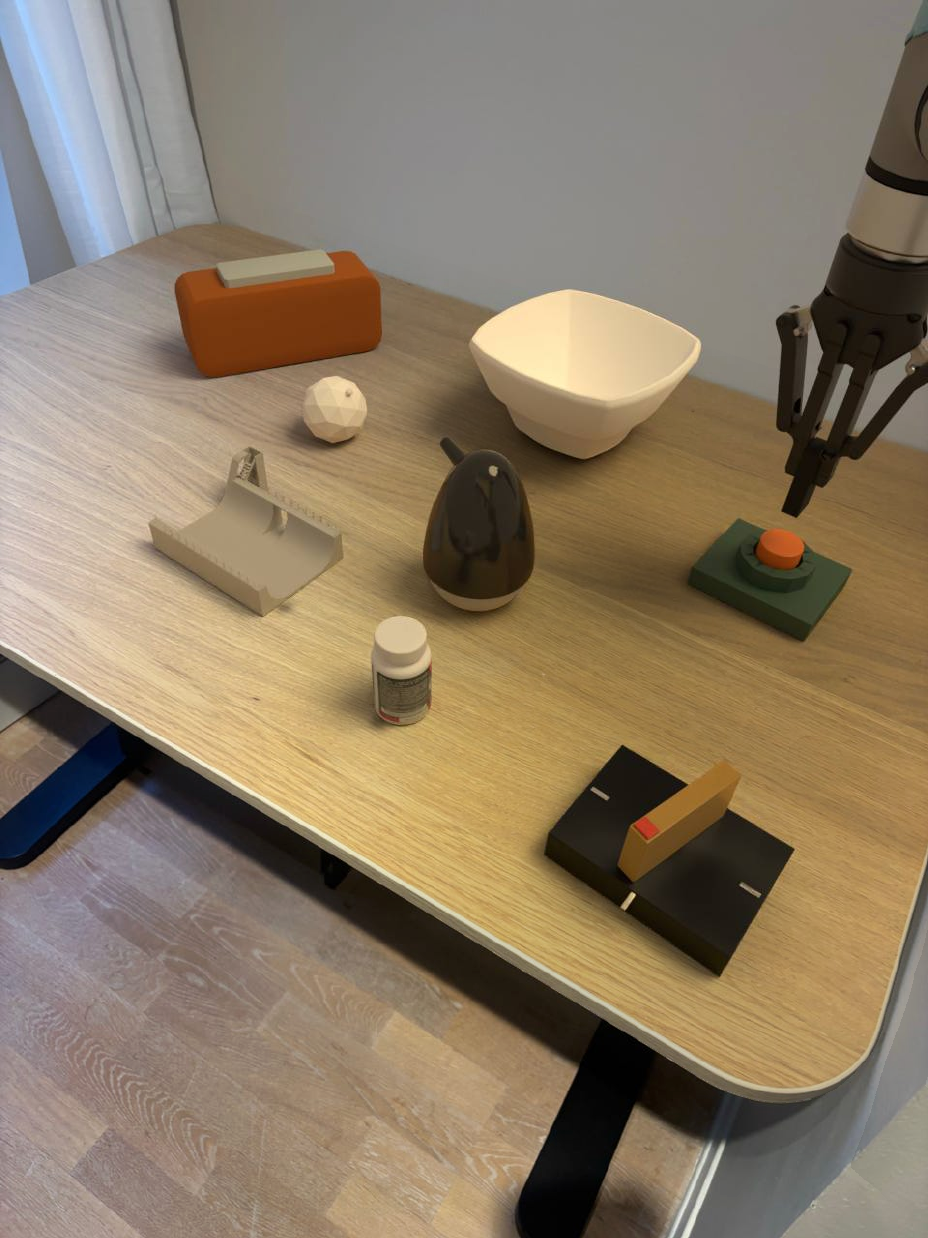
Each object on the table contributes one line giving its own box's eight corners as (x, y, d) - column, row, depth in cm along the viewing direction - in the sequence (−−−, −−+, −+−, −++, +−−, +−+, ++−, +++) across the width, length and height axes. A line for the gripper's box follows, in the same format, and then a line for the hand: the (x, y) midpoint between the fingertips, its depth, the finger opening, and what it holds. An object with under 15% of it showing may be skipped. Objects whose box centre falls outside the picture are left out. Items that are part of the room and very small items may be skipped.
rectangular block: (707, 800, 63) (725, 757, 59) (723, 816, 62) (743, 773, 58) (616, 865, 59) (630, 823, 55) (633, 883, 58) (647, 841, 54)
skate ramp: (155, 547, 85) (143, 506, 81) (256, 485, 93) (249, 445, 89) (263, 616, 79) (255, 574, 75) (361, 544, 87) (359, 503, 83)
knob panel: (791, 855, 64) (805, 832, 61) (708, 997, 56) (720, 976, 54) (626, 754, 69) (633, 730, 67) (530, 870, 62) (535, 847, 60)
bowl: (554, 365, 114) (565, 277, 105) (703, 431, 104) (727, 340, 95) (440, 432, 101) (442, 338, 93) (596, 514, 91) (613, 417, 83)
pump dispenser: (477, 540, 88) (485, 407, 77) (552, 594, 82) (572, 459, 72) (398, 584, 83) (396, 448, 72) (473, 645, 77) (483, 508, 67)
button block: (844, 585, 85) (859, 554, 82) (804, 642, 79) (818, 610, 76) (732, 534, 90) (742, 503, 87) (686, 583, 84) (696, 552, 81)
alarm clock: (362, 321, 120) (358, 237, 112) (383, 349, 115) (380, 263, 107) (186, 350, 113) (168, 262, 105) (199, 381, 107) (182, 291, 99)
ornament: (354, 411, 104) (384, 376, 97) (344, 463, 101) (374, 430, 94) (299, 386, 100) (327, 348, 94) (287, 439, 97) (314, 404, 91)
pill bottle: (441, 712, 72) (444, 642, 66) (391, 735, 70) (389, 665, 64) (413, 674, 75) (412, 604, 69) (363, 696, 73) (359, 625, 67)
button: (805, 555, 82) (811, 541, 81) (788, 576, 80) (794, 562, 79) (766, 537, 84) (771, 523, 83) (748, 558, 82) (753, 543, 80)
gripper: (1007, 252, 61) (880, 517, 78) (829, 203, 66) (746, 461, 83) (977, 286, 57) (849, 560, 73) (789, 231, 62) (710, 497, 79)
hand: (794, 507), depth 78 cm, fingers closed
